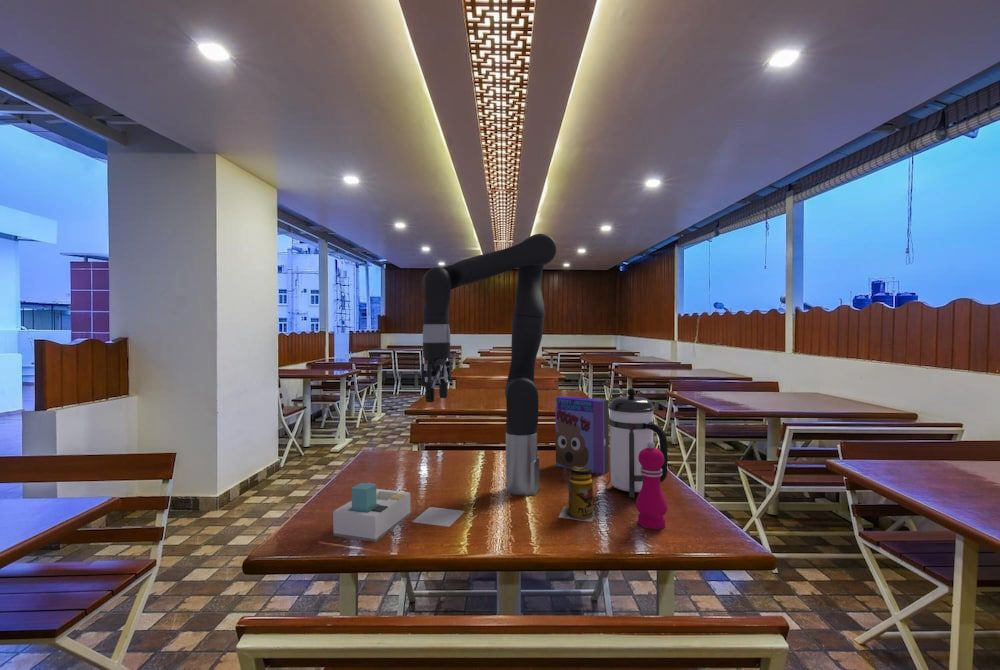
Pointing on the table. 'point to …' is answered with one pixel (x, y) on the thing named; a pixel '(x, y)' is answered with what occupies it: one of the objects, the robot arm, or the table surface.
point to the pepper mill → (651, 489)
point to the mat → (439, 516)
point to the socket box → (372, 517)
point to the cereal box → (582, 433)
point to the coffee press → (632, 441)
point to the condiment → (579, 495)
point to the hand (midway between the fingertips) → (437, 399)
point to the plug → (364, 497)
